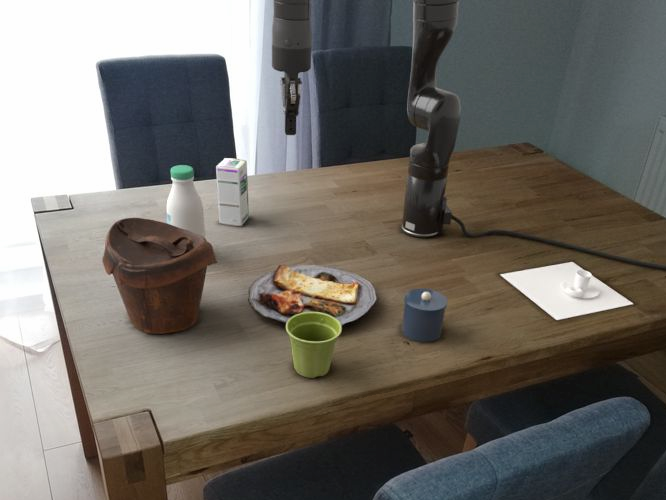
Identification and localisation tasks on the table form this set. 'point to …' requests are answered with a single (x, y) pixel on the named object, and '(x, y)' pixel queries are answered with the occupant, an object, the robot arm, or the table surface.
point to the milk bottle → (185, 202)
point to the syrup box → (232, 191)
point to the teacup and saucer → (565, 290)
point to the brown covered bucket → (158, 272)
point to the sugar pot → (423, 314)
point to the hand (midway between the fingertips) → (290, 133)
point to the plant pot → (313, 342)
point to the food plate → (311, 293)
